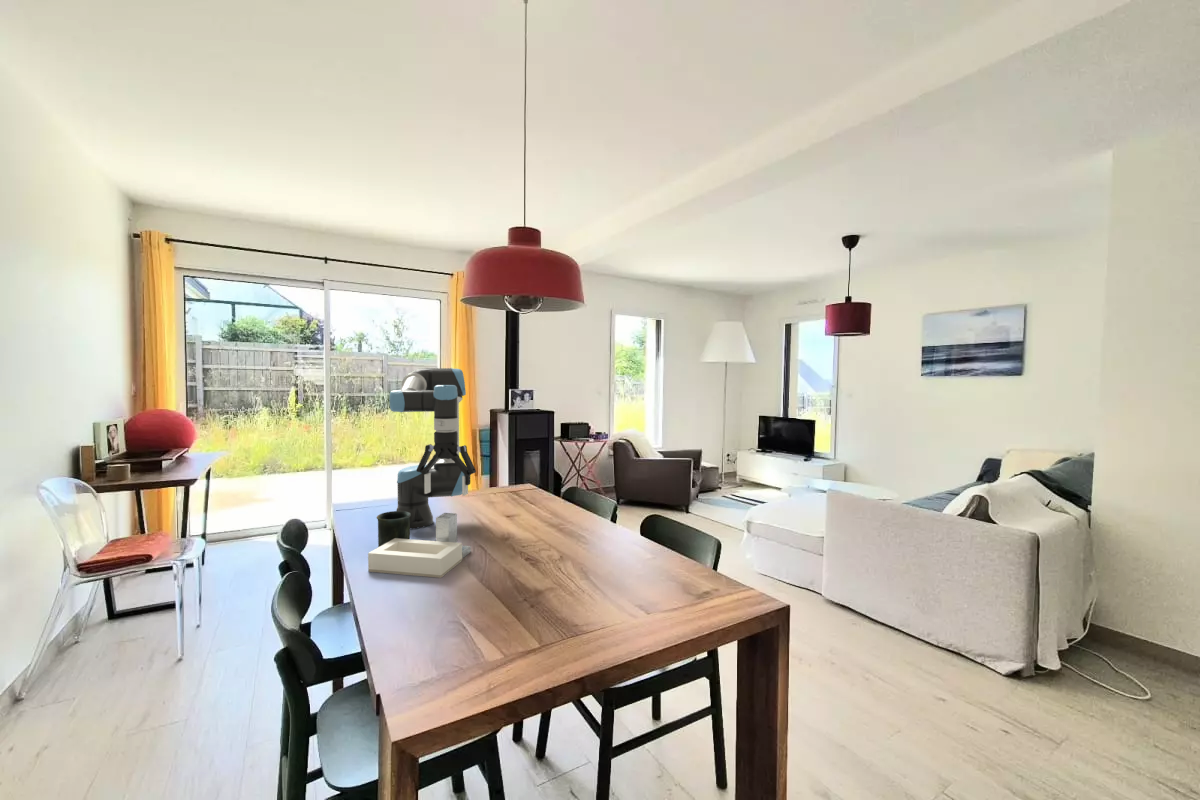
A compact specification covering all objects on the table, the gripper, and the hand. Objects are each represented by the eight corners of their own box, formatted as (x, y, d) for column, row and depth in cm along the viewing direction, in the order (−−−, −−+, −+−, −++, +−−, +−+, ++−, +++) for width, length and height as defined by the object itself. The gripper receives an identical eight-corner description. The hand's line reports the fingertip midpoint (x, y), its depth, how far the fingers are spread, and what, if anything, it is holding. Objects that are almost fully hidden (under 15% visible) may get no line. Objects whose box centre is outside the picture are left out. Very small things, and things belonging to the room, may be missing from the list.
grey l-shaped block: (444, 549, 169) (444, 512, 169) (470, 551, 168) (470, 514, 167) (436, 556, 163) (435, 517, 163) (462, 558, 162) (462, 519, 161)
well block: (395, 555, 164) (394, 538, 163) (462, 560, 160) (462, 543, 159) (368, 571, 150) (368, 553, 150) (441, 577, 146) (440, 558, 145)
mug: (386, 557, 162) (385, 521, 161) (367, 547, 171) (366, 513, 171) (417, 549, 170) (416, 515, 169) (397, 539, 179) (396, 507, 179)
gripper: (405, 431, 162) (406, 494, 163) (476, 433, 158) (476, 498, 159) (417, 429, 170) (418, 489, 170) (485, 430, 165) (485, 492, 166)
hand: (446, 493), depth 165 cm, fingers open, 13 cm apart
